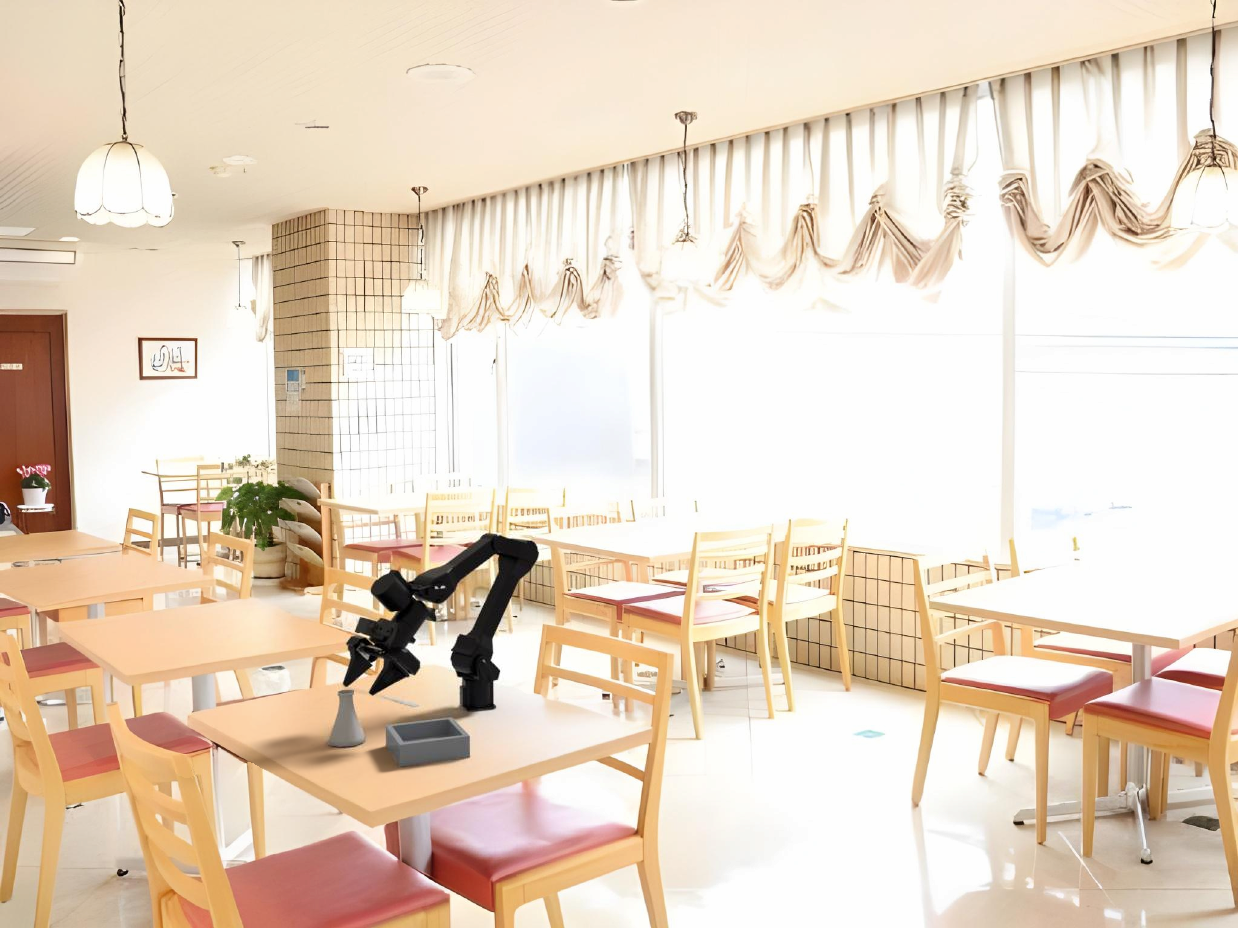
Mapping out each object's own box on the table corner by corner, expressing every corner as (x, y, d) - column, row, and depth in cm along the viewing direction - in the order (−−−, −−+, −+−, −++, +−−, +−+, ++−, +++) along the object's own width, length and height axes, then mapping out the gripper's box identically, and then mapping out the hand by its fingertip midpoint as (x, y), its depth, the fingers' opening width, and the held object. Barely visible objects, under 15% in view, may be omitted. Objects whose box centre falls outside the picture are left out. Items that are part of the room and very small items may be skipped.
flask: (371, 736, 207) (370, 686, 207) (358, 748, 200) (357, 696, 200) (335, 735, 208) (334, 686, 207) (321, 747, 201) (320, 696, 200)
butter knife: (410, 706, 227) (421, 703, 229) (336, 687, 244) (346, 684, 247) (411, 709, 227) (421, 705, 230) (336, 690, 244) (347, 686, 247)
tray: (452, 736, 207) (452, 717, 207) (470, 756, 195) (469, 735, 195) (386, 745, 202) (385, 725, 201) (400, 766, 190) (399, 744, 189)
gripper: (353, 595, 215) (305, 658, 207) (407, 607, 202) (358, 674, 195) (386, 628, 221) (341, 690, 213) (440, 641, 208) (394, 707, 201)
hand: (357, 689), depth 205 cm, fingers open, 9 cm apart
